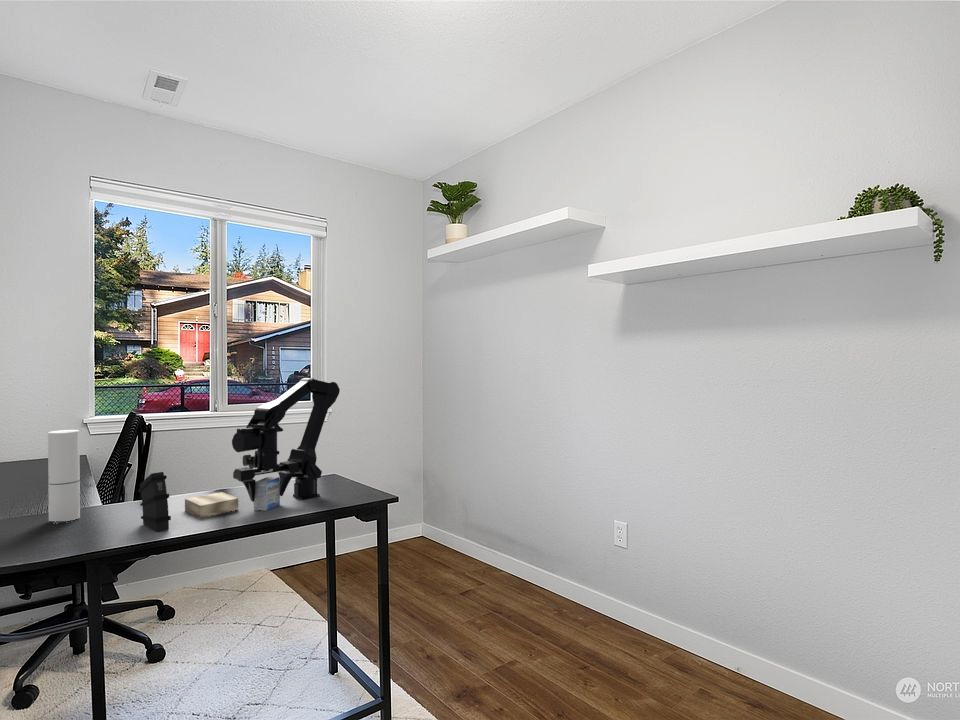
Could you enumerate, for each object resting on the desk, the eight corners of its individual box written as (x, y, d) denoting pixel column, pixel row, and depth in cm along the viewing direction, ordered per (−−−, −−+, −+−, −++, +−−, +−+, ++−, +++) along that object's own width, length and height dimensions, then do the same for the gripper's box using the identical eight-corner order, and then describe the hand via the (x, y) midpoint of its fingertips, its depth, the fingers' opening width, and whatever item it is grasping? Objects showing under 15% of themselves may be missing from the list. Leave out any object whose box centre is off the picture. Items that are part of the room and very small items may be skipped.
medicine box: (266, 511, 170) (266, 482, 170) (253, 510, 171) (252, 481, 170) (280, 504, 178) (280, 476, 177) (267, 503, 178) (266, 476, 178)
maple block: (221, 504, 178) (221, 492, 178) (238, 511, 171) (238, 498, 171) (184, 512, 170) (184, 498, 170) (200, 519, 163) (200, 505, 163)
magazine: (159, 529, 147) (150, 473, 151) (144, 540, 155) (135, 487, 159) (175, 525, 150) (165, 471, 154) (159, 537, 158) (150, 485, 162)
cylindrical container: (77, 514, 166) (76, 428, 166) (82, 519, 161) (81, 431, 161) (46, 519, 161) (46, 431, 161) (51, 525, 156) (50, 434, 156)
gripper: (282, 441, 186) (282, 489, 186) (225, 448, 172) (224, 499, 172) (300, 445, 179) (300, 494, 179) (241, 452, 165) (241, 506, 165)
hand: (267, 498), depth 174 cm, fingers open, 9 cm apart
